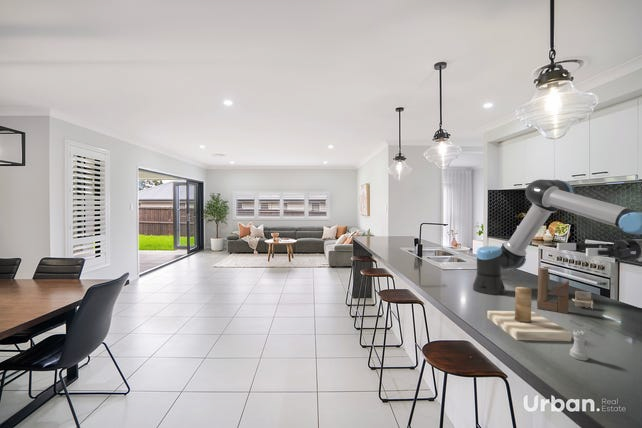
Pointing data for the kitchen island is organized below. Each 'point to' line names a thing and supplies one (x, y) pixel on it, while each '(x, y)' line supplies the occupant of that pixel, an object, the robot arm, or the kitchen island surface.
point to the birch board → (529, 327)
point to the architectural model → (583, 299)
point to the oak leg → (523, 304)
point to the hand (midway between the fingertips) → (571, 249)
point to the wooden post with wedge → (552, 293)
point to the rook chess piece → (579, 346)
